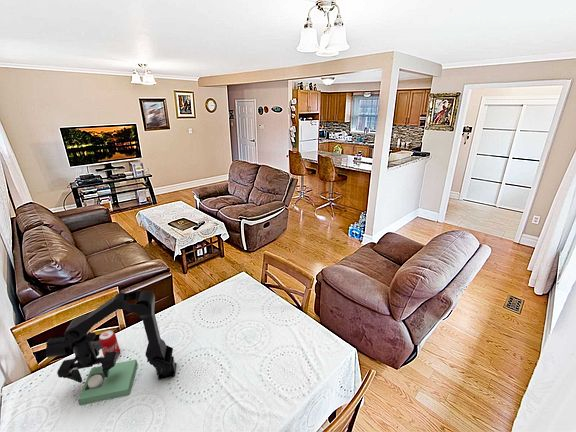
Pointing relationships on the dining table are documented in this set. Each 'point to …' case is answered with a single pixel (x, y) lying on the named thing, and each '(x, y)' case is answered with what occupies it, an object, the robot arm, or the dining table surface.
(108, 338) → the beverage can
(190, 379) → the dining table surface
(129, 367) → the green shape sorter board
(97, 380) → the ball
